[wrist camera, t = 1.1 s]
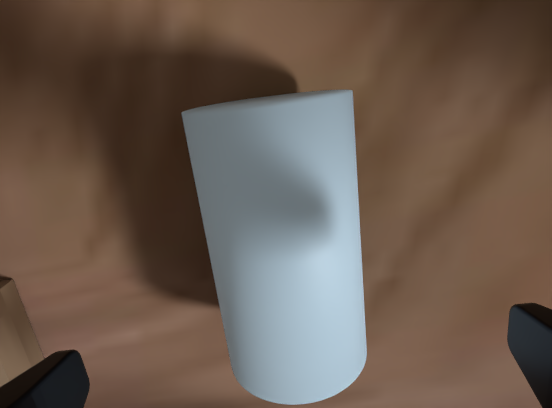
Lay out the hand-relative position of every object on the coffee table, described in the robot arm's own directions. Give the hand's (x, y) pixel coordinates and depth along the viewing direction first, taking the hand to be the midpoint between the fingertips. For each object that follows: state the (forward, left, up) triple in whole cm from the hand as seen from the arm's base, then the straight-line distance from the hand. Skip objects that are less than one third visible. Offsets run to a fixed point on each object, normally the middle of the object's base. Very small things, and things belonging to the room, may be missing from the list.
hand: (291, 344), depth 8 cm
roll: (0, 0, -8) cm, 8 cm away
